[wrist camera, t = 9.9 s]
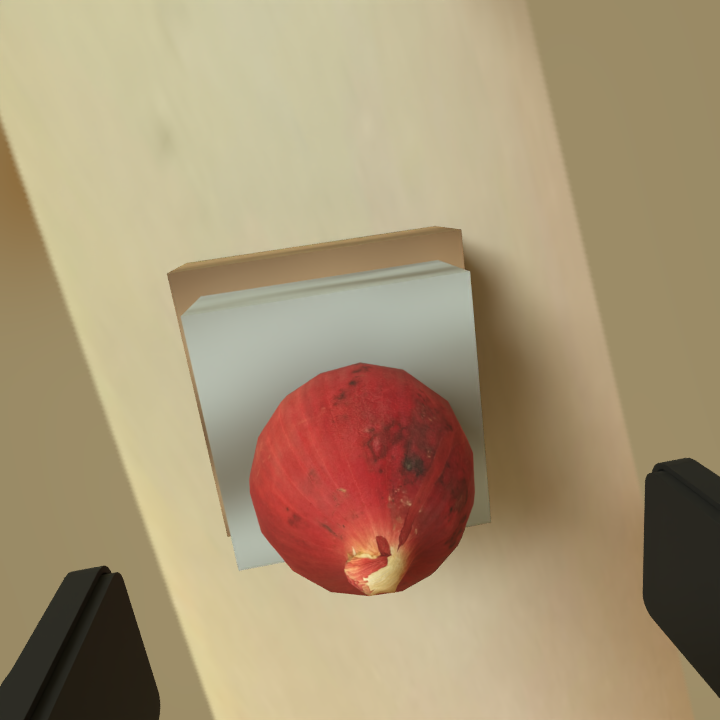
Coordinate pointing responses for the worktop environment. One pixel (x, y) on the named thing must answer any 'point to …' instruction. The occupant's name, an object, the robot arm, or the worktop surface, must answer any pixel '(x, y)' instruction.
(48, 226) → the worktop surface
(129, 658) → the robot arm
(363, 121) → the worktop surface
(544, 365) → the worktop surface
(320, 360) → the wood and metal block
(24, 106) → the worktop surface
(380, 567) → the onion
